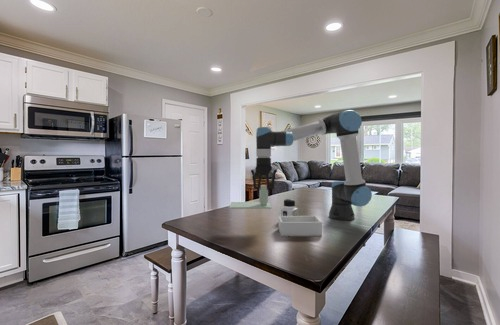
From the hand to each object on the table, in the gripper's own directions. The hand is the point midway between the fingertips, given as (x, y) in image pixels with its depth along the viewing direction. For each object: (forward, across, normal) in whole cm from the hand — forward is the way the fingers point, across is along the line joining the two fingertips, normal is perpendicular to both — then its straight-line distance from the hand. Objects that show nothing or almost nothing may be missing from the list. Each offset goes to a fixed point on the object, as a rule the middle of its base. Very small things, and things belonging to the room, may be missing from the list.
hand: (263, 202), depth 127 cm
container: (+16, -16, -19) cm, 30 cm away
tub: (+15, -18, +2) cm, 24 cm away
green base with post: (+2, +7, 0) cm, 7 cm away
